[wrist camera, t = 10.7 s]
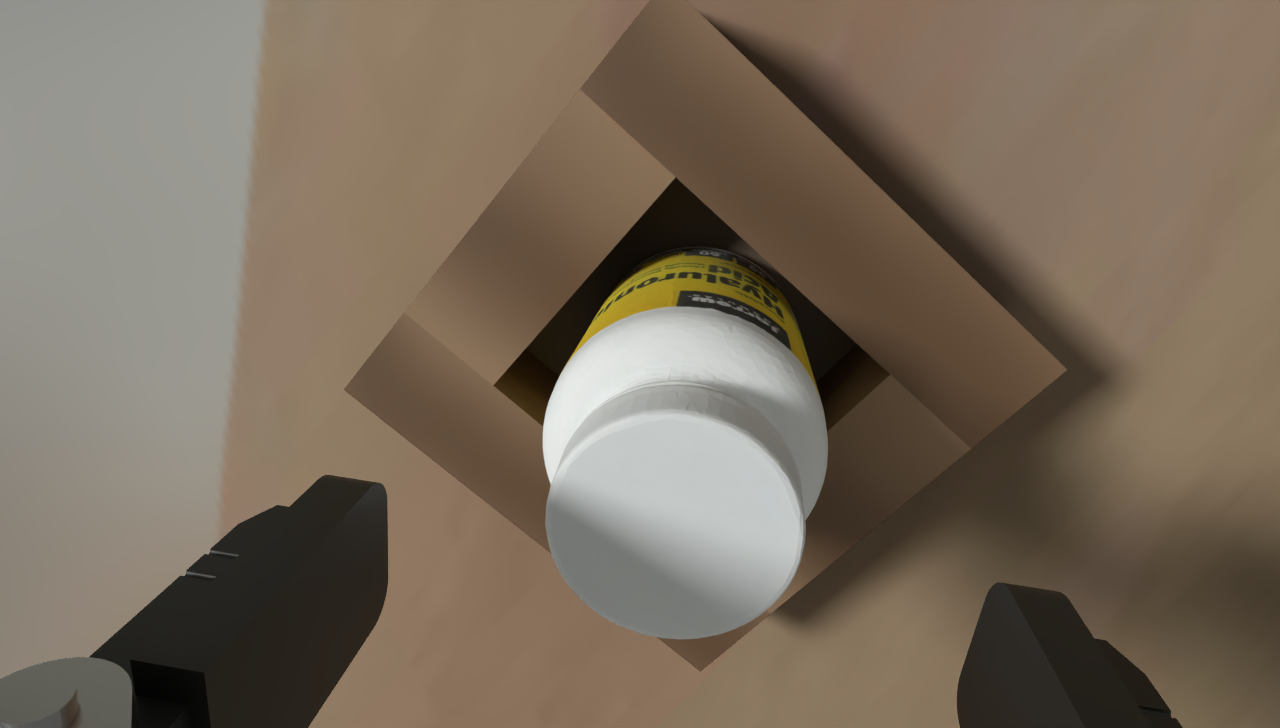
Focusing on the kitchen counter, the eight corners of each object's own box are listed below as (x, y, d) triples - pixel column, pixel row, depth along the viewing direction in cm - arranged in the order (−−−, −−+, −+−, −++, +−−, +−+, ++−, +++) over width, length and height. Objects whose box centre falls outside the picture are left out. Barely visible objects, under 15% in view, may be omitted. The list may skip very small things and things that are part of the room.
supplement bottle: (800, 238, 19) (871, 370, 10) (793, 431, 21) (849, 690, 12) (591, 241, 20) (482, 368, 11) (602, 429, 22) (515, 675, 13)
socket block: (676, 2, 19) (665, -21, 15) (1004, 319, 21) (1067, 369, 17) (406, 340, 23) (343, 389, 19) (703, 582, 24) (700, 671, 21)
